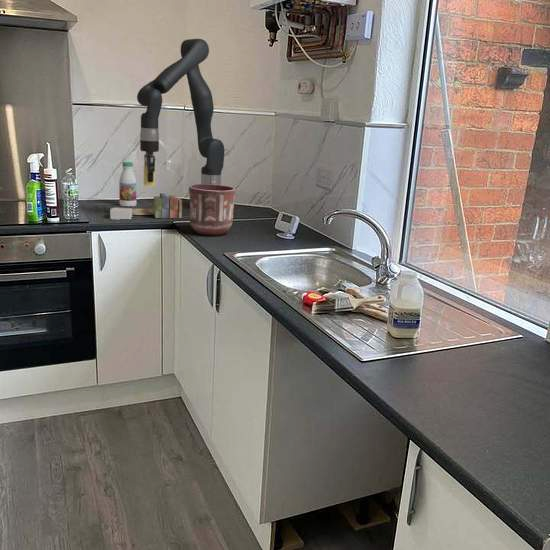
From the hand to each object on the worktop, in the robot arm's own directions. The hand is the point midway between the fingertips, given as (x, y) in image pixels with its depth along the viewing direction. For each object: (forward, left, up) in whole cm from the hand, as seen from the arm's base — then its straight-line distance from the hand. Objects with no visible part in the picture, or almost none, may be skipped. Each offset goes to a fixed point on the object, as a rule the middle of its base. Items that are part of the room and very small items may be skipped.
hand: (149, 180), depth 238 cm
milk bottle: (+5, -30, -16) cm, 34 cm away
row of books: (0, -2, -16) cm, 16 cm away
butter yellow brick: (0, 0, -2) cm, 2 cm away
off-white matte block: (+11, -1, -16) cm, 20 cm away
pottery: (-20, +28, -16) cm, 38 cm away
